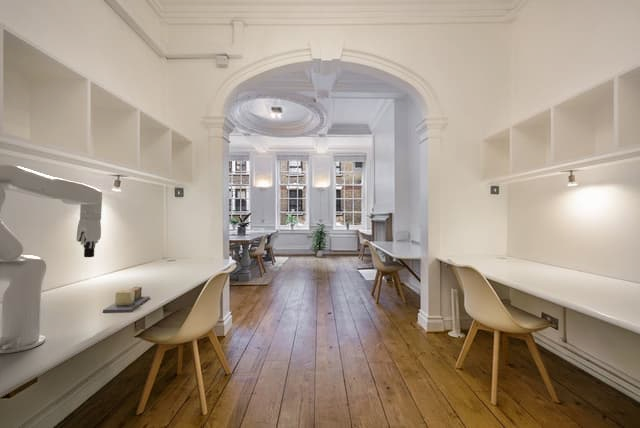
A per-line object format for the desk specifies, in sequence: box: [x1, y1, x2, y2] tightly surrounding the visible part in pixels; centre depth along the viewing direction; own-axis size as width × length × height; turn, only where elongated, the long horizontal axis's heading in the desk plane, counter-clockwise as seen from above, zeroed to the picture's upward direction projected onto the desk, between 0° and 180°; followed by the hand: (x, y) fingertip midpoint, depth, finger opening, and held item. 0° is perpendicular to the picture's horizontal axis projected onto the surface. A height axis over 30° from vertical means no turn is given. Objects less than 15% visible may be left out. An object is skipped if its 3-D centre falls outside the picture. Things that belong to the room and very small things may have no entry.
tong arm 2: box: [134, 286, 143, 300], centre depth 150 cm, size 15×2×5 cm, turn 10°
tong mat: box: [102, 295, 151, 314], centre depth 146 cm, size 22×12×1 cm, turn 10°
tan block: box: [114, 289, 135, 306], centre depth 143 cm, size 4×7×6 cm, turn 100°
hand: (89, 256), depth 129 cm, fingers closed
